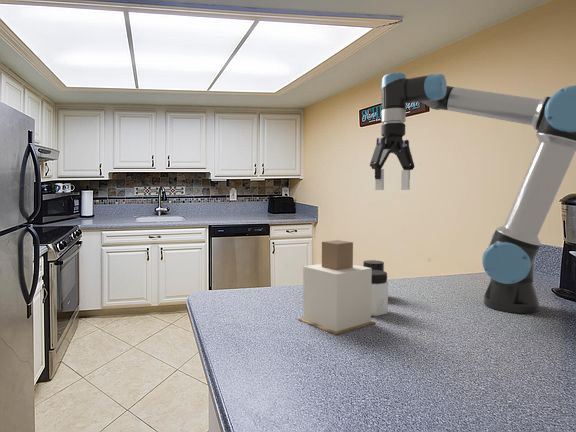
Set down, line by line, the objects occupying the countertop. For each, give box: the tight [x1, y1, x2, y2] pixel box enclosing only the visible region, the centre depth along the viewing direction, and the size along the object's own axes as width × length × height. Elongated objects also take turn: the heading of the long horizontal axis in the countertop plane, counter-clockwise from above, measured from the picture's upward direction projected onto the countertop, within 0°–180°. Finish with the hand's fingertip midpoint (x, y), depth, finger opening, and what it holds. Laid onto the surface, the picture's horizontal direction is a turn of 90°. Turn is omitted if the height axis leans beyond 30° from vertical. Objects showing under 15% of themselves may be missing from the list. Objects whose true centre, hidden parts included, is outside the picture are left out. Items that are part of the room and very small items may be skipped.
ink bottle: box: [362, 259, 385, 271], centre depth 140 cm, size 10×9×12 cm
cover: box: [302, 239, 372, 332], centre depth 114 cm, size 13×13×22 cm
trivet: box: [297, 317, 376, 336], centre depth 114 cm, size 15×15×1 cm
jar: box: [371, 270, 389, 317], centre depth 123 cm, size 9×8×12 cm
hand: (392, 189), depth 134 cm, fingers open, 13 cm apart
